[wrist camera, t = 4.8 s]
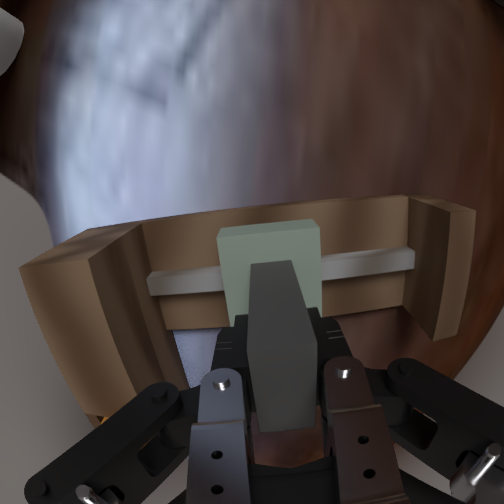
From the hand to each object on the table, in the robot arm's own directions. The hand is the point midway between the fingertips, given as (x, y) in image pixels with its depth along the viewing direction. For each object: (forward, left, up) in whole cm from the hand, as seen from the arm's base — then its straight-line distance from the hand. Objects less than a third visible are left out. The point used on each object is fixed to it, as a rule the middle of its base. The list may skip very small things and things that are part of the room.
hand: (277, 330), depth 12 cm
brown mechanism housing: (+1, +3, -8) cm, 9 cm away
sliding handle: (0, 0, -7) cm, 7 cm away
